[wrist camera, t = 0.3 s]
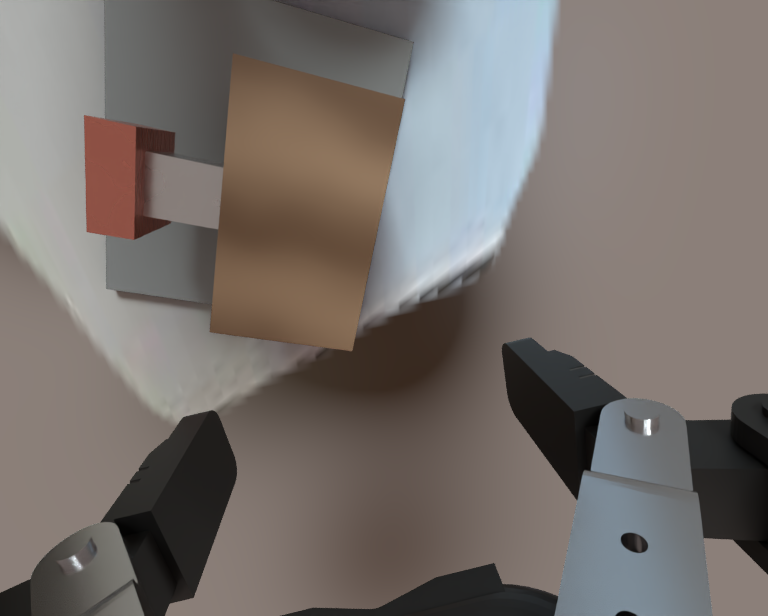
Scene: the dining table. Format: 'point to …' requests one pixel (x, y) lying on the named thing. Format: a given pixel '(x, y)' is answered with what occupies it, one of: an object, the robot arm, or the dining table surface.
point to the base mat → (215, 102)
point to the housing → (299, 204)
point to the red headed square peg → (145, 181)
